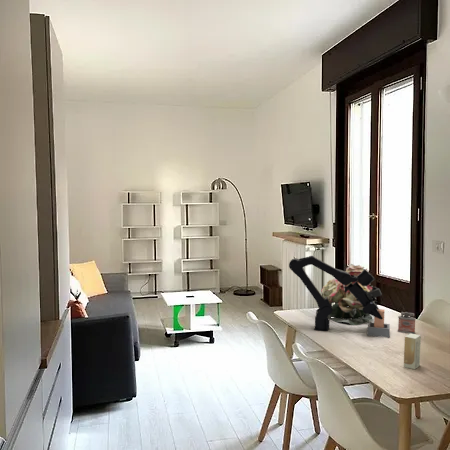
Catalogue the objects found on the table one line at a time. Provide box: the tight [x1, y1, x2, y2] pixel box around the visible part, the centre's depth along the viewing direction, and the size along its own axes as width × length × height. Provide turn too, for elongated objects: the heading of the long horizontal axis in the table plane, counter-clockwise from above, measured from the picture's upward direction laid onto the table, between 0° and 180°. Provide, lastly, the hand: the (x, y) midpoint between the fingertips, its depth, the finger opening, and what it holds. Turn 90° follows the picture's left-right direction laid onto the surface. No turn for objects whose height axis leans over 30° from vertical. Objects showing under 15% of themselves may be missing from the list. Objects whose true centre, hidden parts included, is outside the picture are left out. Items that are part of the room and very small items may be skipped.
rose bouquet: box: [320, 263, 374, 326], centre depth 267 cm, size 26×29×30 cm
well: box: [366, 321, 391, 338], centre depth 240 cm, size 10×10×4 cm
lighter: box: [397, 311, 417, 335], centre depth 243 cm, size 8×3×10 cm, turn 62°
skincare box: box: [403, 333, 422, 370], centre depth 193 cm, size 6×4×12 cm
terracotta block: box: [373, 308, 386, 328], centre depth 240 cm, size 4×4×11 cm
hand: (382, 317), depth 239 cm, fingers open, 5 cm apart
